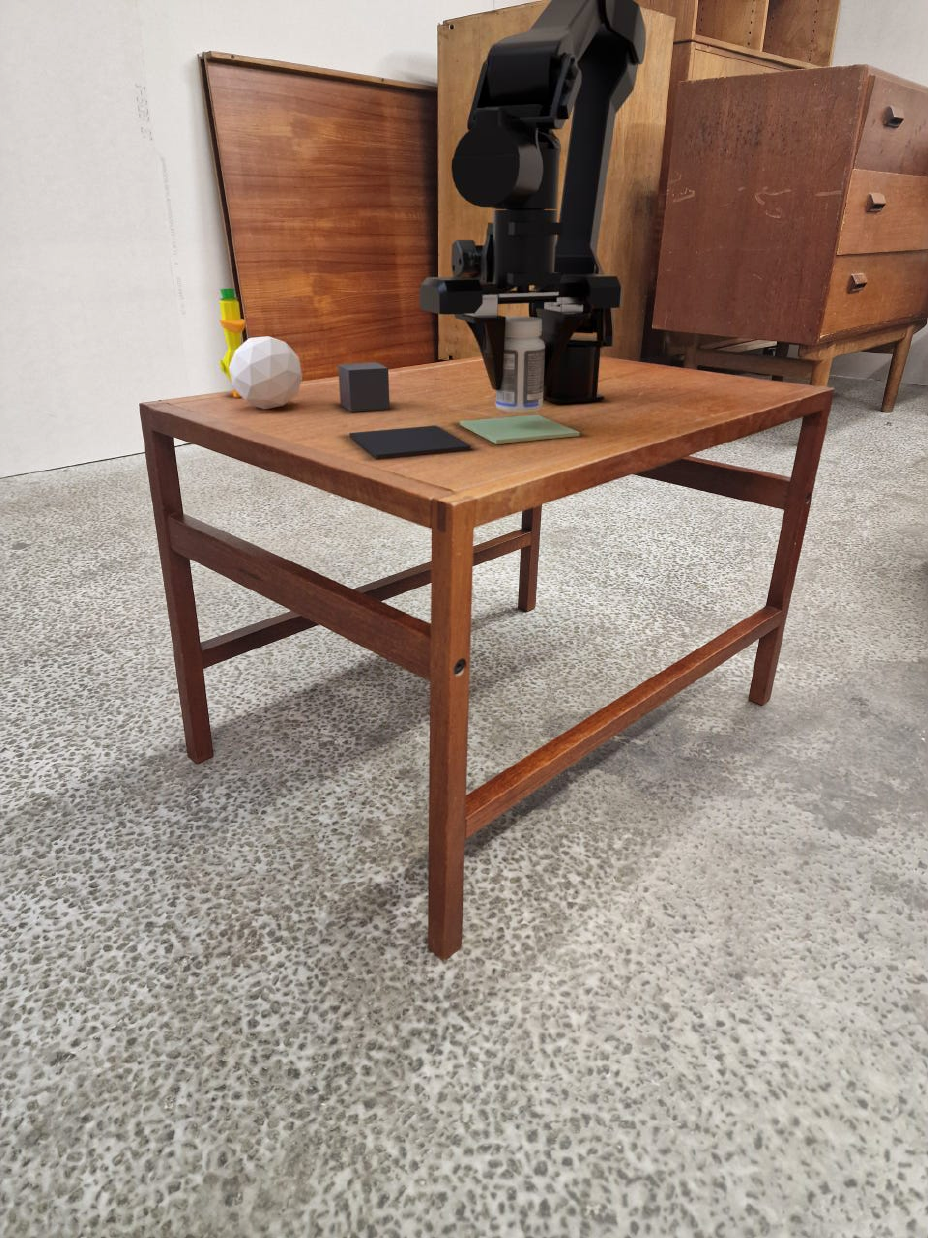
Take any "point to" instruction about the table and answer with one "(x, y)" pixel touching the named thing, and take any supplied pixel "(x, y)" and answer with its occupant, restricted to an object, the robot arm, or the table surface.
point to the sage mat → (518, 429)
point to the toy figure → (230, 329)
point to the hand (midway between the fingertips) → (519, 387)
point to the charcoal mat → (408, 442)
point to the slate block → (364, 386)
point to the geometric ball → (265, 372)
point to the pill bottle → (522, 366)
